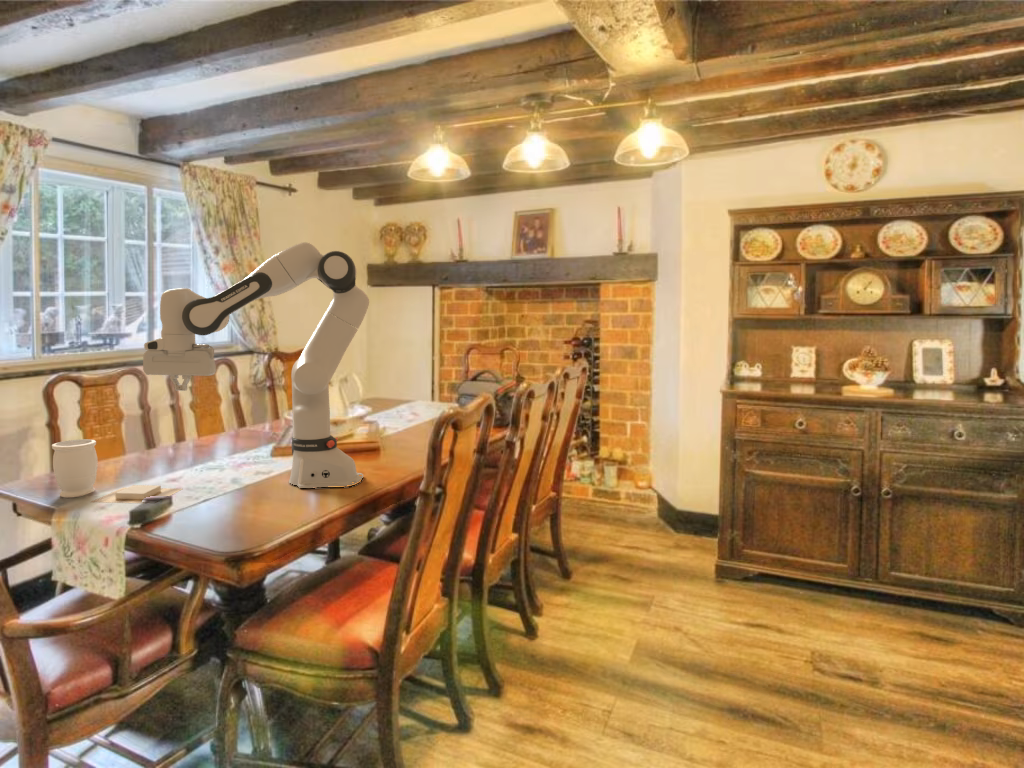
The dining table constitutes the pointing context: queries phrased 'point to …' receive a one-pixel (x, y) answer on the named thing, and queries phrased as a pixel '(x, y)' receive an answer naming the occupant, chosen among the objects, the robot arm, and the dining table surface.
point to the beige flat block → (138, 492)
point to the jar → (75, 467)
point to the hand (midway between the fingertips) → (181, 390)
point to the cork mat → (112, 499)
